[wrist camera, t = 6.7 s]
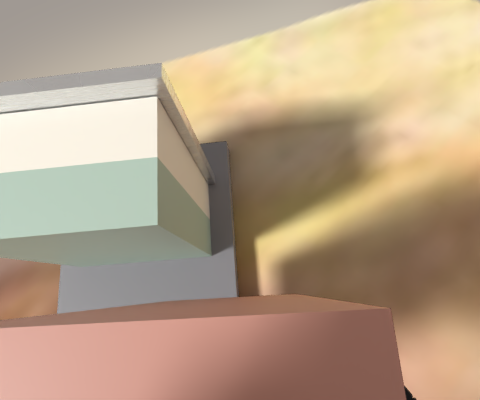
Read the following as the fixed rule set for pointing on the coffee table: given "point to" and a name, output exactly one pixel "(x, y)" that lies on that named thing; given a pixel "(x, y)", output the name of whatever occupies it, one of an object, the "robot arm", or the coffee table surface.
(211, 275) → the shelf board
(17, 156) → the book row
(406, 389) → the robot arm
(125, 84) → the bookend
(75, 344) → the block
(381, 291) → the coffee table surface
